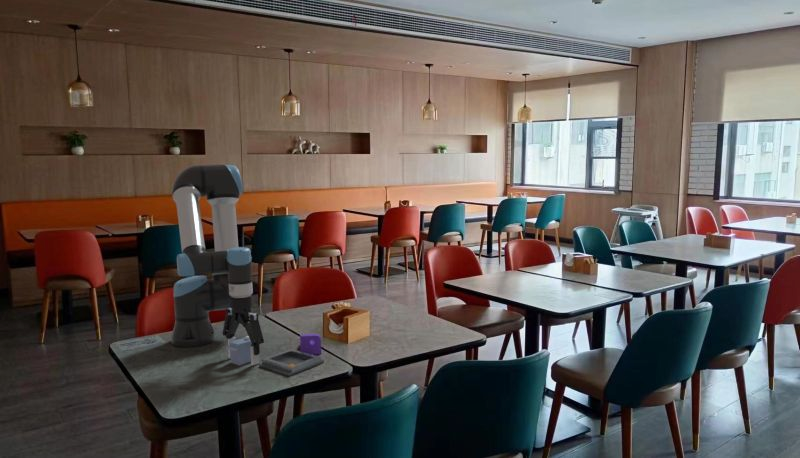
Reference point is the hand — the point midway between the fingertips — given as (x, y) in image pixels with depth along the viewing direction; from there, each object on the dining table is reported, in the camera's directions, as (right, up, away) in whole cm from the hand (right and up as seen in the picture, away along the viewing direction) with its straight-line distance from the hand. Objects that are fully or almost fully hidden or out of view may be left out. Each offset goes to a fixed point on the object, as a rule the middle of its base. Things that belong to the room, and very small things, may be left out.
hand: (243, 360), depth 198 cm
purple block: (+20, +1, +12) cm, 24 cm away
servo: (0, 0, 0) cm, 0 cm away
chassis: (+17, 0, -4) cm, 17 cm away
